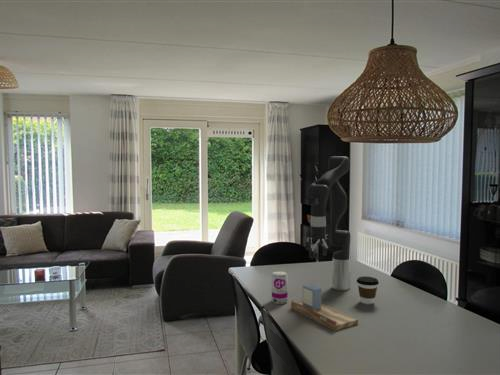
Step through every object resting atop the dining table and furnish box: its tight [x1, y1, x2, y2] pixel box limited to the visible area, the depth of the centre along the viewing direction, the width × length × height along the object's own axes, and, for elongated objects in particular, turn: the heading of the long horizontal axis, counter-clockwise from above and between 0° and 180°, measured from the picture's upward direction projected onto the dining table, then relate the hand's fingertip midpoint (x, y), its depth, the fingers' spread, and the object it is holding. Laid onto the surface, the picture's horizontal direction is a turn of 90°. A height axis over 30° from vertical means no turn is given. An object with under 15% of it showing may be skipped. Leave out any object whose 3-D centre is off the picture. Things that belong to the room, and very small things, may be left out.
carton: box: [302, 283, 322, 311], centre depth 189 cm, size 8×5×10 cm, turn 32°
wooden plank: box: [290, 300, 359, 332], centre depth 184 cm, size 14×30×4 cm, turn 32°
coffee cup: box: [356, 276, 380, 305], centre depth 202 cm, size 11×11×12 cm
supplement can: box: [271, 270, 289, 305], centre depth 202 cm, size 8×8×15 cm
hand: (318, 256), depth 196 cm, fingers open, 8 cm apart
